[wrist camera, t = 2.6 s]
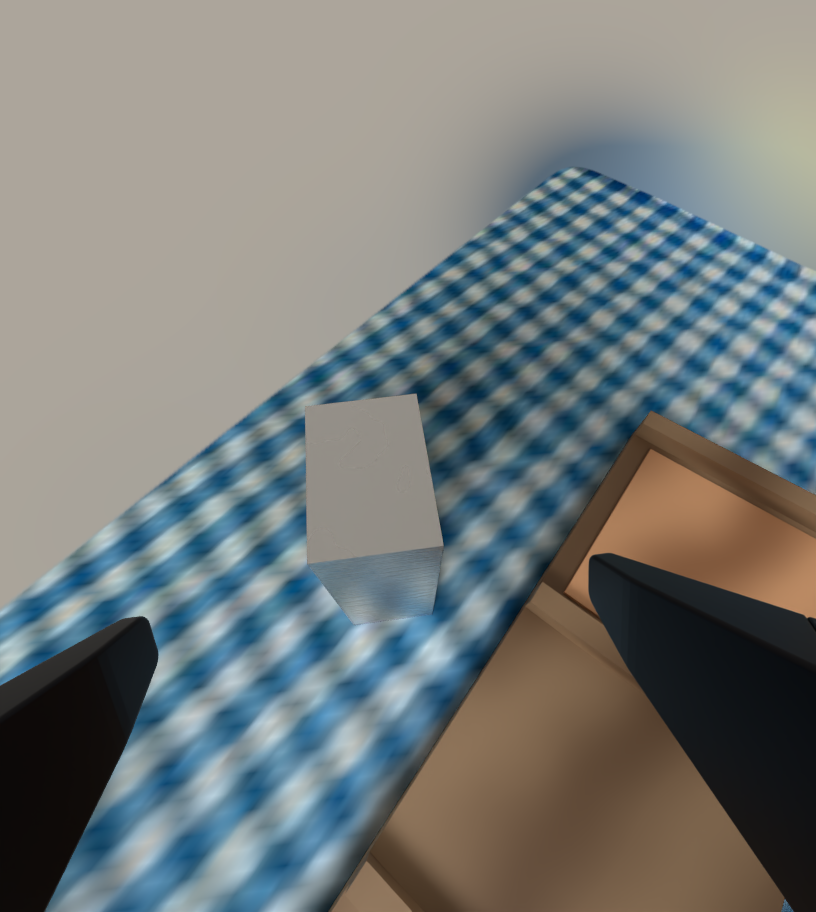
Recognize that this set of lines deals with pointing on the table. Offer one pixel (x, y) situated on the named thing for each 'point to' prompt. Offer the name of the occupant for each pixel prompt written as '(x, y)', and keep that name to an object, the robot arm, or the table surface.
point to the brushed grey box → (372, 508)
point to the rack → (597, 718)
